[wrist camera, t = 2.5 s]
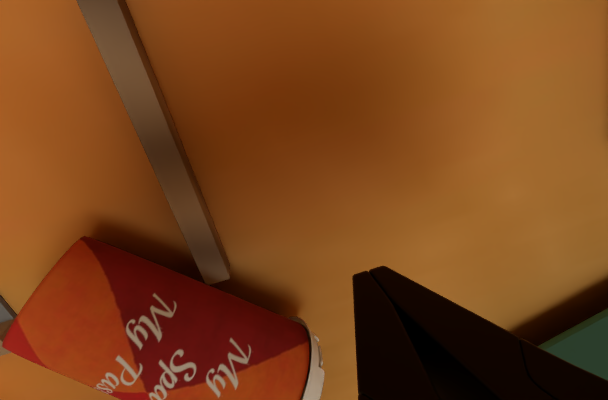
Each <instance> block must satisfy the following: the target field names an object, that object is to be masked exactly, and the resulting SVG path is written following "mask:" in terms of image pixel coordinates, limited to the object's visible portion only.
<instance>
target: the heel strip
mask: <svg viewBox="0 0 608 400" xmlns="http://www.w3.org/2000/svg"><path fill="white" fill-rule="evenodd" d="M77 2H78V5H79V7H80V9H81V11H82V13H83V16H84V18H85V20H86V22H87V24H88V27H89V29H90V31H91V33H92V35H93V38H94V40H95V42H96V44H97V46H98V49H99V51H100V53H101V55H102V58H103V60H104V62H105V64H106V66H107V69H108V71H109V73H110V75H111V77H112V80H113V82H114V84H115V86H116V88H117V91H118V93H119V95H120V97H121V99H122V102H123V104H124V106H125V108H126V110H127V113H128V115H129V117H130V119H131V121H132V124H133V126H134V128H135V130H136V132H137V135H138V137H139V139H140V141H141V143H142V146H143V148H144V150H145V152H146V154H147V157H148V159H149V161H150V163H151V165H152V168H153V170H154V172H155V174H156V176H157V179H158V181H159V183H160V185H161V187H162V190H163V192H164V194H165V196H166V198H167V201H168V203H169V205H170V207H171V209H172V212H173V214H174V216H175V218H176V220H177V223H178V225H179V227H180V229H181V231H182V234H183V236H184V238H185V240H186V242H187V245H188V247H189V249H190V251H191V253H192V256H193V258H194V260H195V262H196V264H197V267H198V269H199V271H200V273H201V275H202V278H203V280H204V282H205V284H207V285H211V284H214V283H217V282H220V281H224V280H227V279H230V264H229V261H228V259H227V256H226V254H225V251H224V249H223V246H222V243H221V241H220V238H219V236H218V233H217V231H216V228H215V226H214V223H213V221H212V218H211V216H210V213H209V211H208V208H207V206H206V203H205V201H204V198H203V196H202V193H201V191H200V188H199V186H198V183H197V181H196V178H195V176H194V173H193V170H192V168H191V165H190V163H189V160H188V158H187V155H186V153H185V150H184V148H183V145H182V143H181V140H180V138H179V135H178V133H177V130H176V128H175V125H174V123H173V120H172V118H171V115H170V113H169V110H168V108H167V105H166V103H165V100H164V97H163V95H162V92H161V90H160V87H159V85H158V82H157V80H156V77H155V75H154V72H153V70H152V67H151V65H150V62H149V60H148V57H147V55H146V52H145V50H144V47H143V45H142V42H141V40H140V37H139V35H138V32H137V30H136V27H135V24H134V22H133V19H132V17H131V14H130V12H129V9H128V7H127V4H126V2H125V0H77Z"/></svg>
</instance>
